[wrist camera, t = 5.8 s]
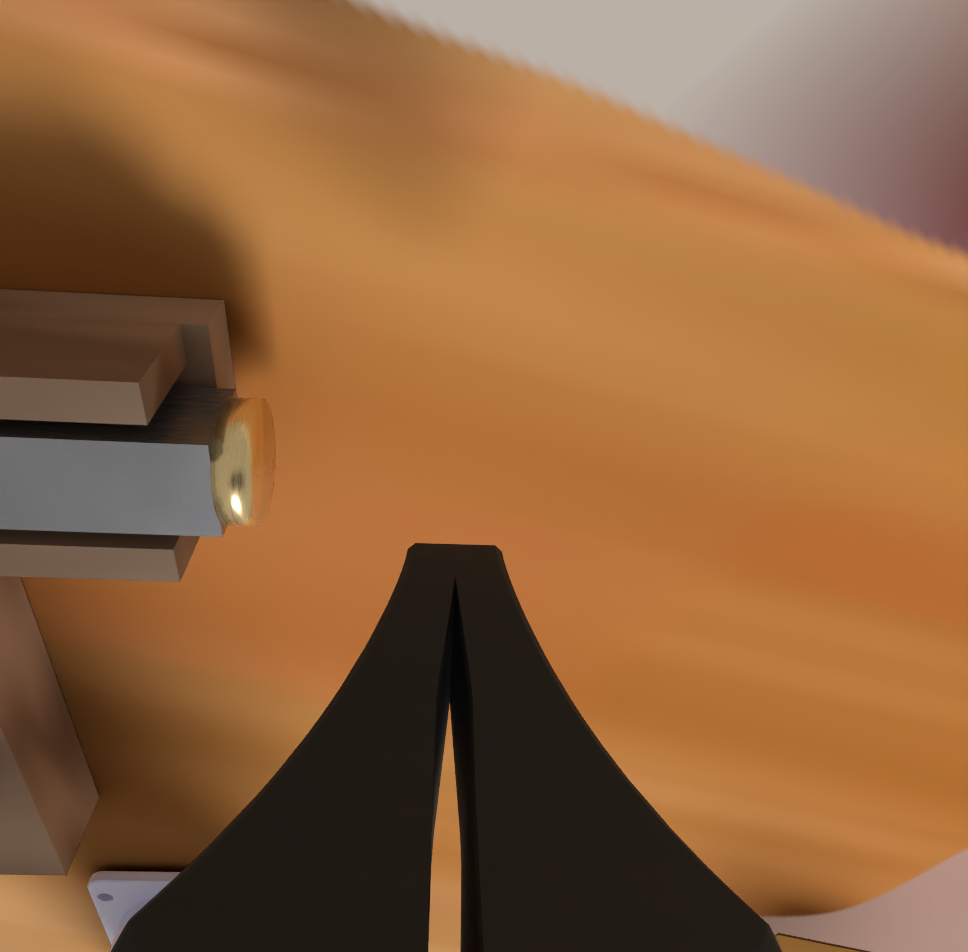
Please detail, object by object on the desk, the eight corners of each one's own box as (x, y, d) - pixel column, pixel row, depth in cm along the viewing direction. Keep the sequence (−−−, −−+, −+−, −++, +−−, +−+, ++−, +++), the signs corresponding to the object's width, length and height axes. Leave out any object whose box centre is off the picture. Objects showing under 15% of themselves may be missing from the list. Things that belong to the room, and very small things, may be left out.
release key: (279, 478, 17) (254, 553, 15) (-149, 462, 16) (-235, 537, 14) (268, 376, 15) (239, 443, 13) (-199, 354, 15) (-302, 420, 13)
